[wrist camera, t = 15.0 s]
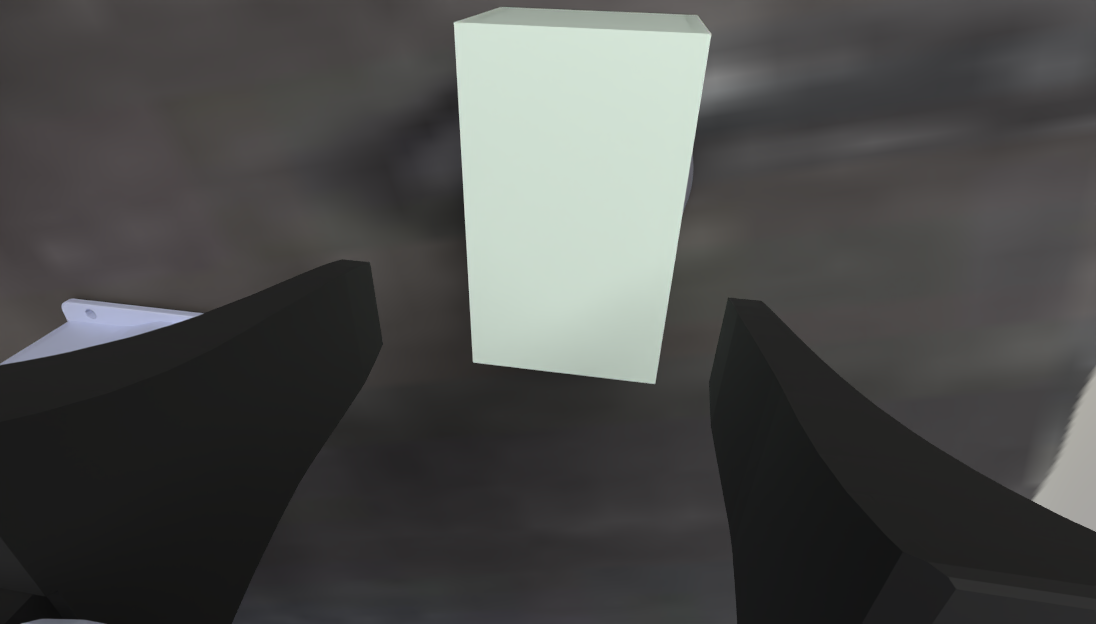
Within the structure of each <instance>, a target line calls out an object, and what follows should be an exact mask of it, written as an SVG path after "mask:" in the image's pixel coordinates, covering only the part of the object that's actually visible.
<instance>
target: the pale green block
mask: <svg viewBox="0 0 1096 624" xmlns="http://www.w3.org/2000/svg"><path fill="white" fill-rule="evenodd" d="M454 31H455V49H456V67H457V85H458V103H459V121H460V138H461V156H462V174H463V192H464V210H465V228H466V246H467V264H468V282H469V300H470V318H471V335H472V353H473V363H482V364H490V365H498V366H507V367H515V368H524V369H532V370H541V371H549V372H558V373H566V374H575V375H583V376H591V377H600V378H608V379H617V380H625V381H634V382H642V383H651V384H655V381H656V375H657V369H658V363H659V356H660V350H661V344H662V338H663V332H664V325H665V319H666V313H667V307H668V300H669V294H670V288H671V282H672V275H673V269H674V263H675V257H676V250H677V244H678V238H679V232H680V225H681V219H682V213H683V207H684V201H685V194H686V188H687V182H688V176H689V169H690V163H691V157H692V151H693V144H694V138H695V132H696V126H697V119H698V113H699V107H700V101H701V95H702V88H703V82H704V76H705V70H706V63H707V57H708V51H709V45H710V38H711V33H710V32H709V30H708V29H707V28H706V26H705V25H704V23H703V22H702V21H701V19H700V18H699V17H698V15H682V14H658V13H634V12H609V11H585V10H561V9H537V8H513V7H499V8H496V9H493V10H490V11H487V12H484V13H481V14H478V15H475V16H472V17H469V18H466V19H463V20H460V21H457V22H454Z"/></svg>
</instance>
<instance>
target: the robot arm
mask: <svg viewBox="0 0 1096 624" xmlns="http://www.w3.org/2000/svg"><path fill="white" fill-rule="evenodd" d="M62 310H63V313H64V314H65V316H66V318H67V320H68V322H66V323H65V324H63V325H62V326H60V327H58V328H57V329H55V330H54V331H52V332H50V333H49V334H47V335H46V336H44V337H42V338H41V339H39V340H37V341H36V342H34V343H33V344H31V345H29V346H28V347H26V348H25V349H23V350H21V351H20V352H18V353H17V354H15V355H13V356H12V357H10V358H9V359H7V360H5V361H4V362H2V363H0V624H232V622H233V619H234V617H235V615H236V613H237V610H238V608H239V606H240V603H241V601H242V599H243V597H244V594H245V592H246V590H247V588H248V585H249V583H250V581H251V579H252V576H253V574H254V572H255V570H256V568H257V566H258V564H259V562H260V559H261V557H262V555H263V553H264V551H265V549H266V547H267V545H268V543H269V541H270V539H271V537H272V535H273V532H274V530H275V528H276V526H277V524H278V522H279V521H280V519H281V517H282V515H283V513H284V511H285V509H286V507H287V505H288V503H289V501H290V499H291V498H292V496H293V494H294V492H295V490H296V488H297V486H298V484H299V483H300V481H301V479H302V478H303V476H304V474H305V473H306V471H307V469H308V468H309V466H310V465H311V463H312V462H313V460H314V459H315V457H316V456H317V454H318V453H319V451H320V450H321V448H322V447H323V445H324V444H325V442H326V441H327V439H328V438H329V436H330V435H331V433H332V432H333V430H334V429H335V427H336V426H337V424H338V423H339V421H340V420H341V418H342V417H343V415H344V414H345V412H346V411H347V409H348V408H349V406H350V405H351V403H352V402H353V400H354V399H355V397H356V396H357V394H358V393H359V391H360V390H361V388H362V386H363V385H364V383H365V381H366V379H367V377H368V375H369V373H370V371H371V369H372V367H373V365H374V363H375V360H376V358H377V356H378V354H379V351H380V349H381V347H382V345H383V342H382V336H381V330H380V323H379V317H378V311H377V304H376V298H375V292H374V285H373V279H372V273H371V266H370V262H361V261H351V260H339V261H335V262H332V263H329V264H326V265H323V266H320V267H318V268H315V269H313V270H310V271H308V272H305V273H303V274H300V275H298V276H296V277H293V278H291V279H289V280H286V281H284V282H281V283H279V284H277V285H274V286H272V287H270V288H267V289H265V290H263V291H260V292H258V293H255V294H253V295H251V296H248V297H245V298H243V299H240V300H238V301H235V302H233V303H230V304H227V305H225V306H222V307H220V308H217V309H214V310H212V311H209V312H207V313H196V312H187V311H178V310H170V309H161V308H152V307H143V306H135V305H126V304H117V303H108V302H99V301H91V300H82V299H69V300H67V301H65V302H64V303H63V304H62ZM709 388H710V415H711V428H712V434H713V440H714V446H715V451H716V457H717V463H718V468H719V473H720V479H721V484H722V490H723V495H724V501H725V506H726V512H727V517H728V522H729V529H730V536H731V543H732V552H733V565H734V579H735V593H736V608H737V624H1096V532H1095V531H1093V530H1091V529H1089V528H1086V527H1084V526H1082V525H1080V524H1077V523H1075V522H1073V521H1071V520H1069V519H1067V518H1064V517H1062V516H1060V515H1058V514H1056V513H1054V512H1052V511H1050V510H1049V509H1047V508H1044V507H1043V506H1041V505H1039V504H1037V503H1035V502H1033V501H1031V500H1029V499H1027V498H1025V497H1023V496H1021V495H1019V494H1017V493H1015V492H1014V491H1012V490H1010V489H1008V488H1006V487H1004V486H1002V485H1000V484H999V483H997V482H995V481H993V480H991V479H990V478H988V477H986V476H984V475H982V474H981V473H979V472H977V471H975V470H974V469H972V468H970V467H969V466H967V465H965V464H964V463H962V462H960V461H959V460H957V459H955V458H954V457H952V456H950V455H949V454H947V453H945V452H944V451H942V450H940V449H939V448H937V447H935V446H934V445H932V444H931V443H929V442H928V441H926V440H925V439H923V438H921V437H920V436H918V435H917V434H915V433H914V432H912V431H911V430H909V429H908V428H907V427H905V426H904V425H902V424H901V423H900V422H898V421H897V420H895V419H894V418H893V417H891V416H890V415H888V414H887V413H886V412H884V411H883V410H881V409H880V408H879V407H877V406H876V405H875V404H873V403H872V402H871V401H870V400H868V399H867V398H866V397H864V396H863V395H862V394H861V393H860V392H858V391H857V390H856V389H855V388H854V387H852V386H851V385H850V384H849V383H848V382H846V381H845V380H844V379H843V378H842V377H840V376H839V375H838V374H837V373H836V372H835V371H834V370H832V369H831V368H830V367H829V366H828V365H827V364H826V363H825V362H824V361H822V360H821V359H820V358H819V357H818V356H817V355H816V354H815V353H814V352H813V351H812V350H811V349H810V348H809V347H808V346H807V345H806V344H805V343H804V342H803V341H802V340H801V339H800V338H798V337H797V336H796V335H795V334H794V333H793V332H792V331H791V330H790V328H789V327H788V326H787V325H786V324H785V323H784V322H783V321H782V320H781V319H780V318H779V317H778V316H777V315H776V314H775V313H774V312H773V311H772V310H771V309H770V308H769V307H767V306H766V305H765V304H764V303H763V302H762V301H756V300H746V299H736V298H728V301H727V305H726V310H725V314H724V319H723V323H722V328H721V332H720V336H719V341H718V345H717V350H716V354H715V359H714V363H713V368H712V372H711V377H710V381H709Z"/></svg>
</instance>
